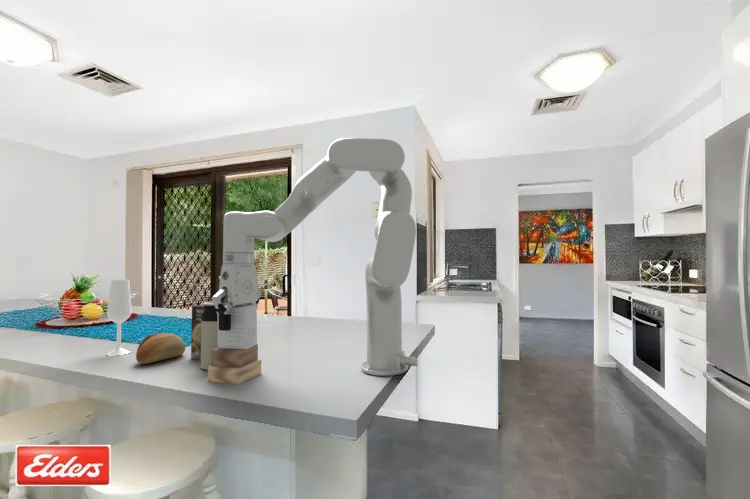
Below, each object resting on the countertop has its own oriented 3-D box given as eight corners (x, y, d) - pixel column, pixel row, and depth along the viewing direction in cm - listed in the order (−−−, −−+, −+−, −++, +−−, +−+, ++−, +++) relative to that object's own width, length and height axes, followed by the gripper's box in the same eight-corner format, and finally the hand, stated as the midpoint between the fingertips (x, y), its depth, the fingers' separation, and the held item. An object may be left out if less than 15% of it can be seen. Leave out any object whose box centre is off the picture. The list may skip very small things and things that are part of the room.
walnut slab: (257, 359, 94) (257, 343, 94) (240, 367, 86) (240, 351, 86) (230, 357, 95) (230, 342, 95) (211, 366, 87) (211, 349, 88)
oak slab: (261, 375, 93) (261, 359, 93) (238, 386, 84) (238, 369, 85) (232, 372, 96) (232, 357, 96) (207, 383, 87) (207, 366, 87)
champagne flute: (125, 355, 113) (127, 280, 114) (101, 356, 111) (103, 280, 113) (134, 350, 119) (136, 279, 120) (112, 351, 118) (114, 279, 119)
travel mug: (194, 368, 98) (195, 303, 99) (218, 361, 105) (218, 300, 106) (214, 372, 94) (215, 304, 95) (237, 364, 101) (238, 301, 102)
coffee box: (189, 358, 109) (190, 305, 109) (205, 353, 115) (206, 303, 116) (213, 360, 106) (213, 306, 106) (228, 355, 112) (229, 304, 113)
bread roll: (124, 365, 101) (125, 337, 102) (168, 353, 116) (169, 328, 116) (151, 368, 99) (151, 339, 99) (192, 355, 113) (192, 330, 113)
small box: (257, 344, 93) (257, 304, 93) (246, 349, 87) (246, 306, 88) (229, 343, 94) (229, 303, 94) (216, 348, 88) (217, 306, 89)
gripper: (227, 259, 82) (226, 334, 81) (271, 260, 99) (270, 322, 98) (201, 259, 84) (200, 332, 84) (248, 260, 101) (247, 321, 100)
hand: (238, 327), depth 91 cm, fingers open, 9 cm apart
